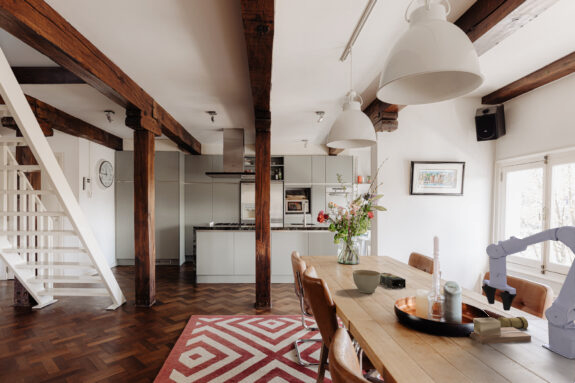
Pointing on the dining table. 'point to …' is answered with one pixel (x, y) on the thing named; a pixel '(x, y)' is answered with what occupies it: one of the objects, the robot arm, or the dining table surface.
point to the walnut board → (503, 336)
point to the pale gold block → (487, 326)
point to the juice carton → (391, 280)
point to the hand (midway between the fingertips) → (498, 307)
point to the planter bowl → (366, 280)
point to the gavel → (509, 320)
